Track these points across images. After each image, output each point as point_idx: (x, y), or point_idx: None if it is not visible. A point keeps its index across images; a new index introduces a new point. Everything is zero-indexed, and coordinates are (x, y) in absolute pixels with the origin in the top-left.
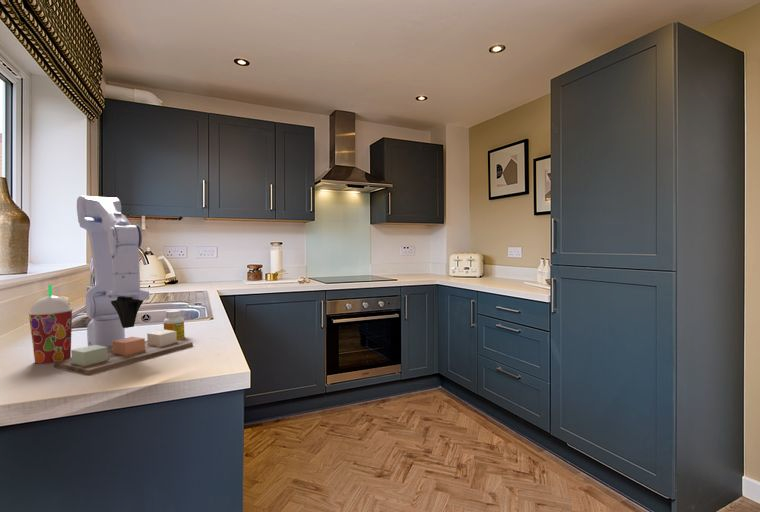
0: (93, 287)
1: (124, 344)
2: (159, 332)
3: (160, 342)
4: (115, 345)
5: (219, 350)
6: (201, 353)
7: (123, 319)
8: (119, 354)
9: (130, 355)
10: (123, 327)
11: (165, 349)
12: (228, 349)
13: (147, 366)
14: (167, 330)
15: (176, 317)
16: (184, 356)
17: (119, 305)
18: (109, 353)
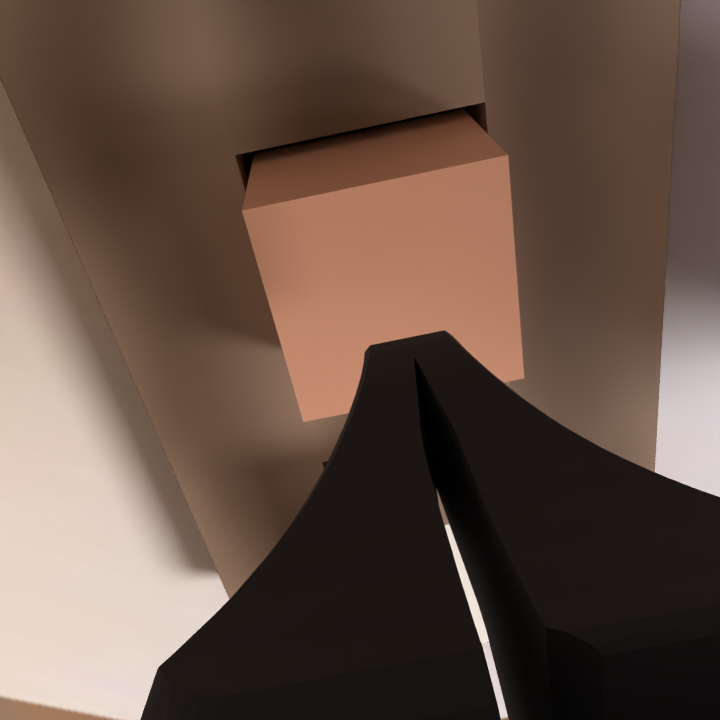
0: None
1: (246, 202)
2: (461, 577)
3: None
4: (434, 154)
5: (132, 663)
6: (147, 587)
7: (375, 404)
8: (351, 143)
9: (194, 196)
10: (425, 336)
11: (172, 458)
12: (113, 695)
13: (67, 246)
14: (480, 634)
15: None
16: (158, 505)
17: (382, 596)
18: (485, 86)
